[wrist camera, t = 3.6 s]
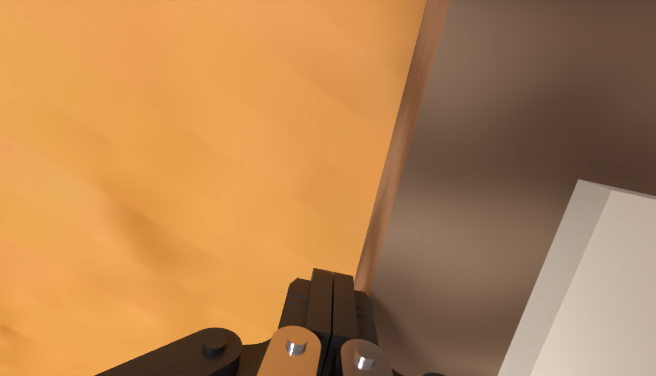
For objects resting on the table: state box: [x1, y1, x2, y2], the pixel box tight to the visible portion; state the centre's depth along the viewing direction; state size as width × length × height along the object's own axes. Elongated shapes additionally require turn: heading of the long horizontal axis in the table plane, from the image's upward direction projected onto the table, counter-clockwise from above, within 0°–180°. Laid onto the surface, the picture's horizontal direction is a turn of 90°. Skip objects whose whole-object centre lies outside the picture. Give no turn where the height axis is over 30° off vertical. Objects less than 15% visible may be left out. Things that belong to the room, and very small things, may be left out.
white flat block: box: [498, 179, 656, 376], centre depth 13 cm, size 12×8×2 cm, turn 168°
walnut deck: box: [354, 0, 656, 376], centre depth 15 cm, size 24×16×4 cm, turn 168°
